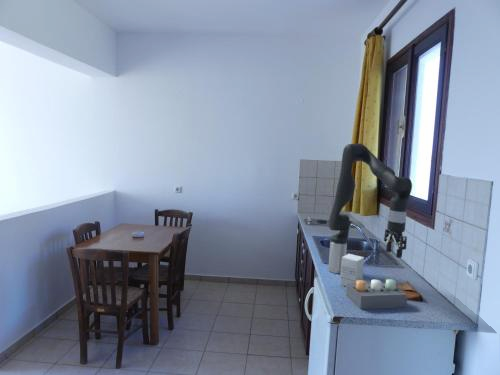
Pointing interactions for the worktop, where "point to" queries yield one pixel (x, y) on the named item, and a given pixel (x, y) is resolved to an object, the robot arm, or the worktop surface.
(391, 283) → the mint green oval piece
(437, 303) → the worktop surface
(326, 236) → the worktop surface
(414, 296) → the sunglasses case
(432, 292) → the worktop surface
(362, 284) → the beige rounded piece
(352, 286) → the grey holder tray
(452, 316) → the worktop surface
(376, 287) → the white egg-shaped piece
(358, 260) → the supplement box
